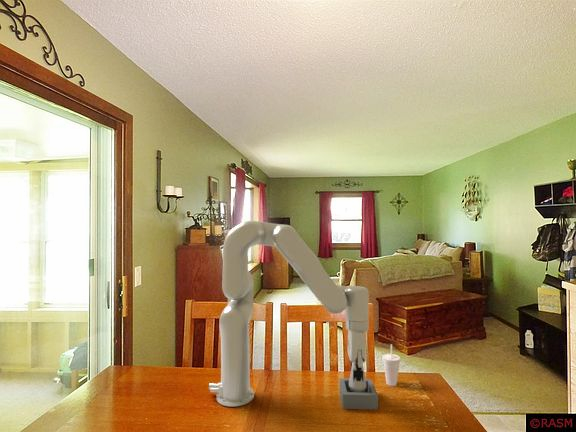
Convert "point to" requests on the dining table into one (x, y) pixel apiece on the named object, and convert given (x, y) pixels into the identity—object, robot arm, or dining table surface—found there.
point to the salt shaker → (357, 382)
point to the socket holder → (358, 396)
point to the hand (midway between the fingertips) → (357, 378)
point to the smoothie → (391, 368)
